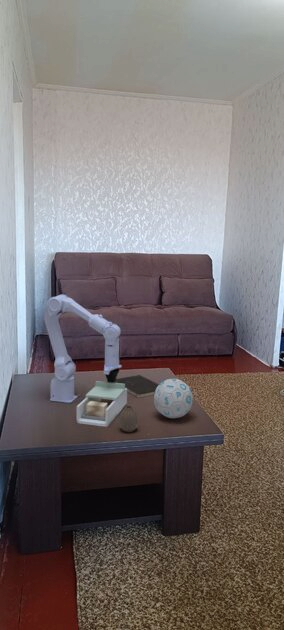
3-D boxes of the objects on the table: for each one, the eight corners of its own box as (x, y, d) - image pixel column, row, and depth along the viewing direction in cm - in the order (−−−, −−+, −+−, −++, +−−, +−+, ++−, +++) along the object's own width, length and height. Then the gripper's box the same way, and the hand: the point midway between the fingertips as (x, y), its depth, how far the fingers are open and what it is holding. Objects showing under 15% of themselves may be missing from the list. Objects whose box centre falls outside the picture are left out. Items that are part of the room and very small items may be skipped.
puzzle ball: (158, 425, 172) (159, 386, 170) (149, 410, 187) (150, 374, 184) (197, 423, 175) (199, 384, 173) (185, 408, 190) (187, 373, 187)
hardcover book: (137, 399, 201) (137, 394, 201) (112, 384, 220) (112, 379, 220) (168, 393, 209) (168, 388, 209) (140, 379, 229) (140, 374, 228)
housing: (76, 423, 173) (76, 406, 172) (99, 400, 197) (99, 385, 196) (107, 427, 170) (107, 410, 169) (126, 403, 194) (127, 388, 193)
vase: (131, 435, 163) (131, 411, 162) (115, 430, 167) (115, 407, 165) (141, 428, 169) (142, 405, 168) (125, 424, 173) (126, 401, 171)
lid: (85, 396, 181) (85, 389, 180) (96, 387, 192) (96, 380, 192) (116, 400, 178) (116, 393, 178) (125, 390, 189) (125, 383, 189)
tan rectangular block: (86, 417, 176) (86, 404, 175) (90, 413, 180) (90, 401, 179) (103, 419, 174) (104, 406, 173) (107, 415, 178) (107, 403, 177)
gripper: (116, 359, 182) (115, 393, 184) (126, 351, 196) (125, 382, 198) (98, 358, 184) (98, 391, 186) (110, 349, 197) (109, 380, 200)
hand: (111, 386), depth 192 cm, fingers closed
